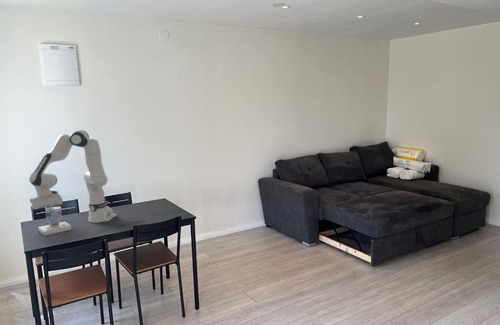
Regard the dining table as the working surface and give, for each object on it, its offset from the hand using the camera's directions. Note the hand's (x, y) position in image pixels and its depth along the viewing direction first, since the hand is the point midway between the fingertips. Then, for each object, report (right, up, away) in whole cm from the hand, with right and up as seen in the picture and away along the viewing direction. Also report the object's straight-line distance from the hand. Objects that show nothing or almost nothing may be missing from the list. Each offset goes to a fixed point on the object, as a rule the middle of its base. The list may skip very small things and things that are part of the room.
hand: (50, 210), depth 265 cm
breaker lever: (+5, -10, -4) cm, 12 cm away
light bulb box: (-5, -10, +16) cm, 19 cm away
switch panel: (+6, -13, -4) cm, 15 cm away
